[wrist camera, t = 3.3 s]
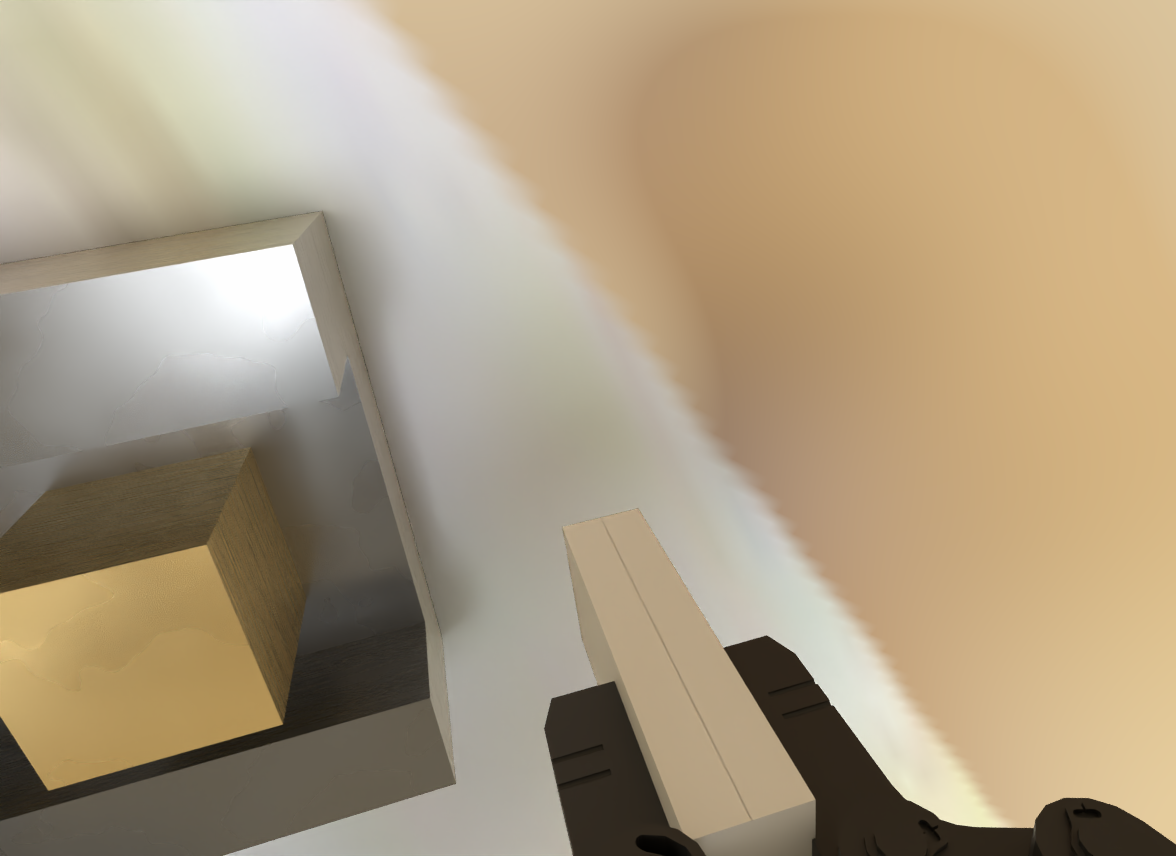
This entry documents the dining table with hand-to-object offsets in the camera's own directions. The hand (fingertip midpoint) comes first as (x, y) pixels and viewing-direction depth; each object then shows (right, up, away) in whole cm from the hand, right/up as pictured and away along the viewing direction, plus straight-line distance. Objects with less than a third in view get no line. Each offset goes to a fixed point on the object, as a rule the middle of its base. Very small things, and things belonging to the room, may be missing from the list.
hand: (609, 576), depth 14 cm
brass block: (-10, 0, +4) cm, 11 cm away
